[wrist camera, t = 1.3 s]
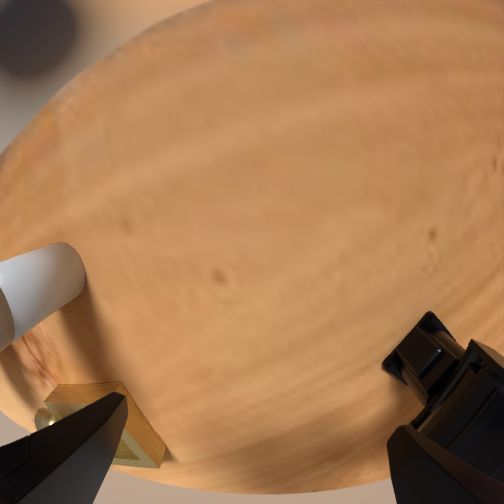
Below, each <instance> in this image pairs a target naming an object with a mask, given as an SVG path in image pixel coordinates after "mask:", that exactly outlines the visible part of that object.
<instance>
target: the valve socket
mask: <svg viewBox="0 0 504 504" xmlns="http://www.w3.org/2000/svg"><path fill="white" fill-rule="evenodd" d="M114 391H116V392H119V393H121V394H124V395H126V397H127V404H128V418H127V421H126V424H125V427H124V430H123V433H122V436H121V439H120V442H119V445H118V448H117V451H116V454H115V457H114V459H113V461H112V463H111V464H115V465H123V466H132V467H143V468H159V469H160V466H161V463H162V459H163V456H164V453H165V449H166V445H165V444H164V442H163V441H162V440H161V439H160V437H159V436H158V435H157V433H156V432H155V431H154V429H153V428H152V427H151V425H150V424H149V423H148V421H147V420H146V418H145V417H144V416H143V414H142V413H141V411H140V410H139V408H138V407H137V405H136V404H135V402H134V401H133V399H132V398H131V396H130V395H129V393H128V392H127V390H126V389H125V387H124V385H123V384H122V382H115V383H99V384H58V385H57V387H56V388H55V389H54V390H53V391H52V392H51V393H50V395H49V396H48V397H47V398H46V399H45V400H44V403H45V404H46V406H47V407H48V408H41V409H39V410H38V411H37V413H36V415H35V425H36V428H37V430H40V429H42V428H44V427H46V426H48V425H51V424H53V423H55V422H56V421H58V420H60V419H62V418H64V417H66V416H68V415H70V414H72V413H74V412H76V411H78V410H80V409H82V408H83V407H85V406H87V405H89V404H91V403H93V402H95V401H96V400H98V399H100V398H102V397H104V396H106V395H107V394H109V393H111V392H114Z"/></svg>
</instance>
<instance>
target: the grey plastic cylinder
mask: <svg viewBox="0 0 504 504" xmlns="http://www.w3.org/2000/svg"><path fill="white" fill-rule="evenodd" d="M85 279H86V276H85V268H84V265H83V262H82V260H81V258H80V256H79V254H78V253H77V251H76V250H75V249H74V248H73V247H72V246H70V245H69V244H67V243H64V242H57V243H54V244H51V245H48V246H45V247H42V248H39V249H36V250H33V251H30V252H27V253H25V254H22V255H19V256H16V257H14V258H11V259H8V260H5V261H3V262H0V352H1V351H2V350H4V349H5V348H6V347H8V346H9V345H10V344H11V343H13V342H14V341H15V340H17V339H18V338H19V337H21V336H22V335H23V334H25V333H26V332H27V331H29V330H30V329H32V328H33V327H34V326H36V325H37V324H38V323H40V322H41V321H43V320H44V319H45V318H47V317H48V316H50V315H51V314H52V313H54V312H55V311H57V310H58V309H60V308H61V307H62V306H64V305H65V304H67V303H68V302H70V301H71V300H73V299H74V298H76V297H77V296H78V295H80V294H81V292H82V291H83V289H84V286H85Z"/></svg>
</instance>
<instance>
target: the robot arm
mask: <svg viewBox="0 0 504 504" xmlns="http://www.w3.org/2000/svg"><path fill="white" fill-rule="evenodd" d="M429 316H430V318H429ZM468 345H469V346H468V347H467V349H466V350H465V349H464V348H463V347H461V346H460V345H459V344H458V343H457V342H456V340H455V339H454V338H453V336H452V335H451V334H450V332H449V331H448V330H447V329H446V327H445V326H444V325H443V324H442V323H441V321H440V320H439V319H438V318H437V316H436V315H435V314H434V313H433V312H431V311H428V312H427V313H426V314H425V315H424V316H423V318H422V319H421V320H420V321H419V322H418V324H417V325H416V326H415V327H414V328H413V330H412V331H411V332H410V333H409V334H408V335H407V336H406V337H405V339H404V340H403V341H402V342H401V343H400V344H399V345H398V346H397V347H396V348H395V349H394V351H393V352H392V353H391V354H390V355H389V356H388V357H387V358H386V359H385V360H384V361H383V363H382V365H383V367H384V368H385V369H386V370H388V371H389V372H390V373H392V374H393V375H394V376H396V377H397V378H398V379H400V380H401V381H402V382H404V383H405V384H406V385H408V386H409V387H410V388H411V389H412V391H413V392H414V393H415V395H416V396H417V398H418V399H419V400H420V402H421V403H422V405H423V406H424V409H423V410H422V411H421V412H420V413H419V414H418V416H417V417H416V418H415V419H414V420H412V421H411V422H410V423H409V424H408V425H402V426H399V427H397V428H396V430H395V431H394V433H393V434H392V435H391V437H390V438H389V439H388V441H387V452H388V459H389V466H390V474H391V480H392V484H393V488H394V493H395V497H396V502H397V504H504V357H503V356H502V355H501V354H499V353H498V352H497V351H495V350H494V349H492V348H490V347H488V346H486V345H484V344H482V343H480V342H478V341H476V340H474V339H471V340H470V342H469V344H468ZM387 363H389V364H387ZM127 418H128V404H127V397H126V395H124V394H121V393H119V392H116V391H114V392H111V393H109V394H107V395H106V396H104V397H102V398H100V399H98V400H96V401H95V402H93V403H91V404H89V405H87V406H85V407H83V408H82V409H80V410H78V411H76V412H74V413H72V414H70V415H68V416H66V417H64V418H62V419H60V420H58V421H56V422H55V423H53V424H51V425H48V426H46V427H44V428H42V429H40V430H38V431H36V432H34V433H32V434H30V435H29V436H25V437H23V438H21V439H19V440H17V441H14V442H12V443H9V444H7V445H4V446H1V447H0V504H93V502H94V499H95V497H96V495H97V493H98V491H99V489H100V486H101V484H102V482H103V480H104V478H105V476H106V474H107V471H108V469H109V467H110V465H111V463H112V461H113V459H114V457H115V454H116V451H117V448H118V445H119V442H120V439H121V436H122V433H123V430H124V427H125V424H126V421H127Z"/></svg>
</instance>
